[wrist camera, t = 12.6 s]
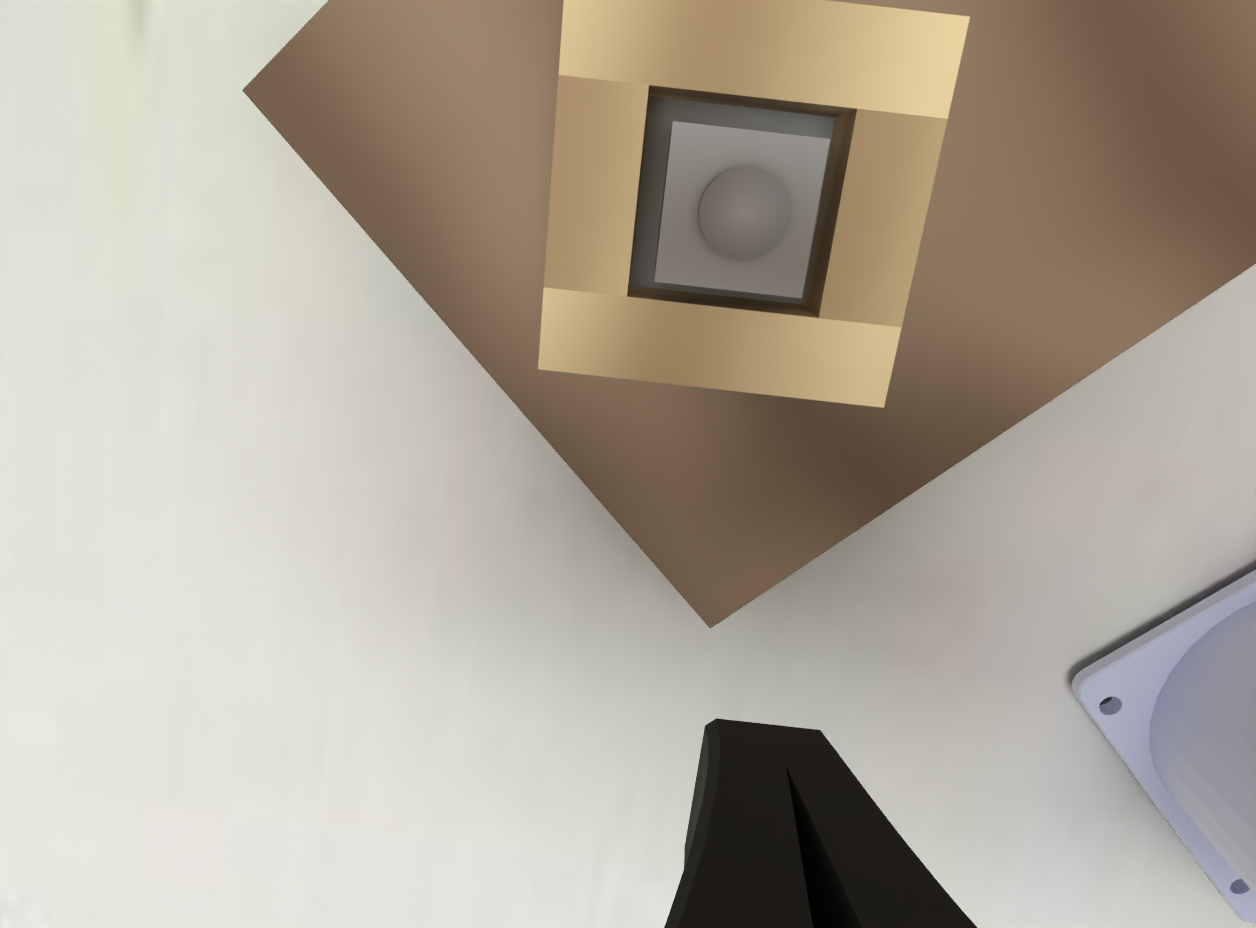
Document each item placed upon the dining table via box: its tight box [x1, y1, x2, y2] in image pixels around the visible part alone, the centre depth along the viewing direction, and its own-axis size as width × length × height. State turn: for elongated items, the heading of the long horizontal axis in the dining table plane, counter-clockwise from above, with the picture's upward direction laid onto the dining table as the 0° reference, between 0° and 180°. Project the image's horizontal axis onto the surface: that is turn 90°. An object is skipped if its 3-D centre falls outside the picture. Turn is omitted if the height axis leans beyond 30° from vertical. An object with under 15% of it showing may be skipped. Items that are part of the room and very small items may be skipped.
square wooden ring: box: [538, 0, 970, 408], centre depth 13 cm, size 6×6×2 cm
